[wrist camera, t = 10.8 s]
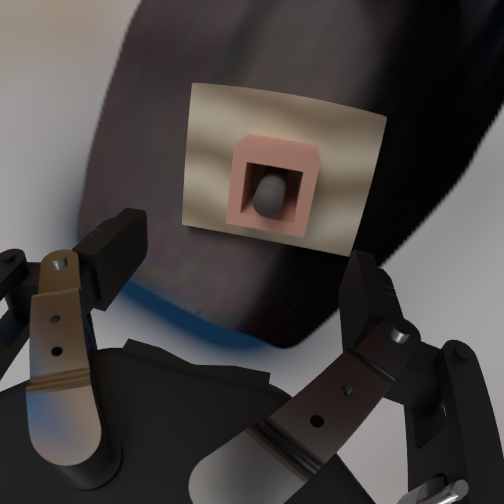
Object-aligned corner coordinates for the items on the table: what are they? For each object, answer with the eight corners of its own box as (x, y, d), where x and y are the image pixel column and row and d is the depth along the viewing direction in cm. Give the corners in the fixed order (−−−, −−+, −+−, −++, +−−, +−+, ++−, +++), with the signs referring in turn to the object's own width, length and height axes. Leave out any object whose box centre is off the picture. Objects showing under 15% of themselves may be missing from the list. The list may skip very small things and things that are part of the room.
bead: (248, 133, 26) (234, 146, 21) (316, 145, 26) (320, 161, 21) (240, 196, 29) (225, 223, 24) (304, 208, 29) (303, 237, 24)
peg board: (197, 83, 26) (153, 85, 18) (382, 115, 25) (417, 130, 17) (186, 218, 33) (149, 266, 25) (347, 249, 32) (359, 307, 24)
